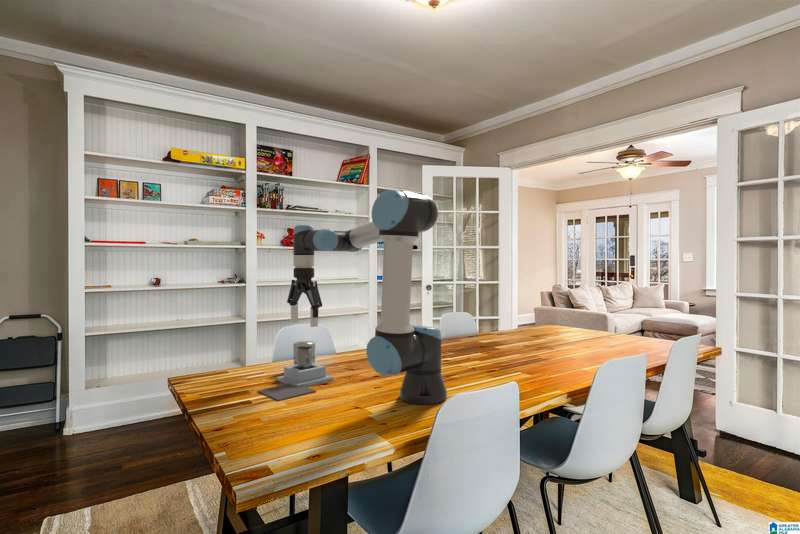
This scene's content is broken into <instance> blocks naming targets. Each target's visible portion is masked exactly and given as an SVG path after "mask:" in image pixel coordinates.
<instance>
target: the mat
mask: <svg viewBox="0 0 800 534" xmlns="http://www.w3.org/2000/svg"><path fill="white" fill-rule="evenodd" d="M316 392H317V390H316V389H312V388H310V387H309V386H307V387H305V386H302V387H295V386H293V385H290V384H285V383H284V384H281V385H277V386H272V387H268V388H267V387H266V388H263V389H259V390H257V393H259V394H262V395H264V396H266V397H269V398H270V399H273V400H275V401H277V402H280V401H284V400H288V399H293V398H296V397H300V396H305V395H308V394H312V393H316Z"/></svg>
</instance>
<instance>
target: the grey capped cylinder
mask: <svg viewBox="0 0 800 534" xmlns="http://www.w3.org/2000/svg"><path fill="white" fill-rule="evenodd" d="M300 341H301V340H300ZM312 341H313V340H311V341H309V340H305V341H304V340H302V341H301V342H297V343H296V346H297V369H299V370H305V369H310V368H312V346H313V342H312Z"/></svg>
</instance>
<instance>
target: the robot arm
mask: <svg viewBox="0 0 800 534" xmlns="http://www.w3.org/2000/svg"><path fill="white" fill-rule="evenodd" d="M438 217H439V211H438V207H437V204H436V203H435V201H434V200H433V199H432V198H431V197H429V196H428V195H425V194H423V193H415V192H413V191H412V192H411V191H407V190H402V189H387V190H385V191H382V192H381V193H380V194H379V195H378V197H376V199H375V200H374V202H373V204H372V208H371V220H372V221H371V222H368V223H365V224H363V225H360V226H357V227H354V228H352V229H349V230H333V229H328V228H322V229H315V227H314V226H313V225H311V224H310V225H309V224H307V225H306V224H302V225H301V224H300V225H298V224H297V225H295V226H294V227H293V235H292V239H293V249H292V250H293V259H292V260H293V261H292V263H293V265H292V266H293V267H294V268H293V278H294V279H291V284H290V289H289V293H288V297H287V300H286V301H287V302H286V303H287V304H289V306H290V323H291V324H292V323H299V303H298V302H299V300H300V298H301V296H302V294H304V295H306V298H307V300H308V302H309V304H310V306H311V307H310V309H309V310H310V322H309V323H310V324H309V325H310V328H314V327H315V328H316V327H318V326H319V309H320V308H321V307H323V303H322V299H321V298H322V297H321V295H320V291H319V288H318V281H317V280H312V279H313V278H314V277H315V268H314V266H315V252H351V253H354V252H360V251H361V250H363V248H364V247H365V248H366V247H368V246H370V245H374V244H376V243H381V242H383V253H382V254H383V258H382V260H383V261H382V278H381V279H382V280H381V281H382V282H381V283H382V284H381V306H380V307H381V309H380V312H381V313H380V323H378V325H376V326H375V331H374V332H375V333H374V336H373V337H371V338H370V340H369V341H368V342H367V344H366V351H365V352H366V357H367V361H368V363H369V365H370V366H371V367H372V369H373V371H375V372H376V373H377V374H378V375H381V376H383V377H384V376H386V377H388V376H394V375H399V374H401V373H404V376H403V380H402V384H401V387H400V390H399V399H400V400H401V401H403V402H406V403H407V404H413V405H420V406H421V405H422V406H423V405H426V406H427V405H437V404H439V402H440V403H442V401H443V402H445V401H446V400H447V399H448V398H447V397H448V393H447V392H448V391H447V388H446V385H445V382H444V379H443V375H442V333H441V332H442V331H441V329H439V328H438V327H433V326H428V325H427V326H425V325H411V323H410V322H411V321H410V320H411V318H410V316H411V296H412V295H411V294H412V271H413V270H412V269H413V254H414V253H413V252H414V251H413V248H414V247H413V245H414V242H415V241H416V240H418V239H419V234H420V233H425V232H427V231H429V230H430V229H432V228H433V227H434V225H436V222H437V220H438ZM444 400H445V401H444Z"/></svg>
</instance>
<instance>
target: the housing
mask: <svg viewBox="0 0 800 534" xmlns="http://www.w3.org/2000/svg"><path fill="white" fill-rule="evenodd" d="M326 370H327V368H326V366H324V365H320V364H317V363H316V364H315V363H312V368H310V369H305V370H299V369H297V364H296V365H294V364H292V365H287V366H284V367H283V375H281V376H276V377H275V378H276V381H277V382H280V383H283V384H284V385H285V384H290V385H293V386H295V387H302V386H305V387H310V386H314V385H315V386H316V385H319V384H323V383H328V382H331V381H334V376H331V375H328V374H327V371H326Z"/></svg>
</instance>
